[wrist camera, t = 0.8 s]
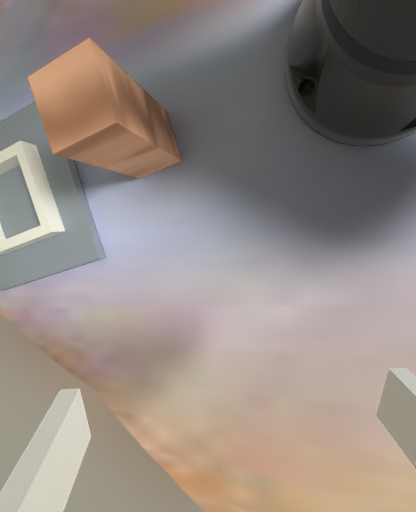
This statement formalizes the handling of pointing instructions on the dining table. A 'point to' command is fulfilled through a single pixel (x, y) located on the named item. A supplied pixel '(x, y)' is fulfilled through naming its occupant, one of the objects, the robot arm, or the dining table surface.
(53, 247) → the baseplate
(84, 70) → the pillar
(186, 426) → the dining table surface
